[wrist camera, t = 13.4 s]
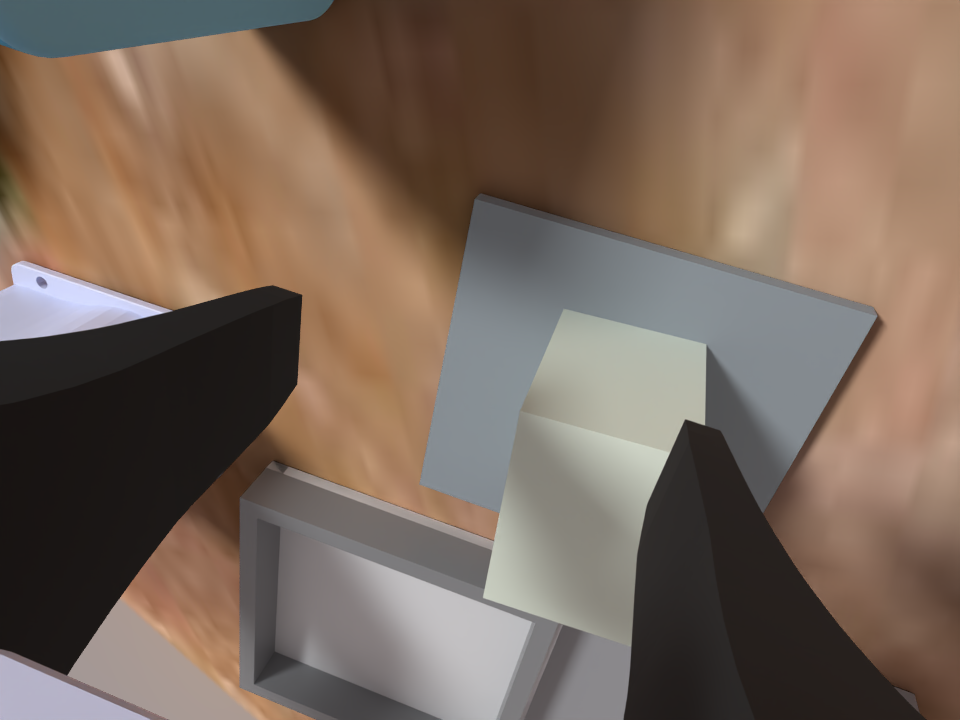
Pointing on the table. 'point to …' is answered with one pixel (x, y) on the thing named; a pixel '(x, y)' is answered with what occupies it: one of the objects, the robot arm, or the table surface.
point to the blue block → (136, 22)
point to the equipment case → (399, 618)
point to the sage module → (590, 470)
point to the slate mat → (637, 302)
